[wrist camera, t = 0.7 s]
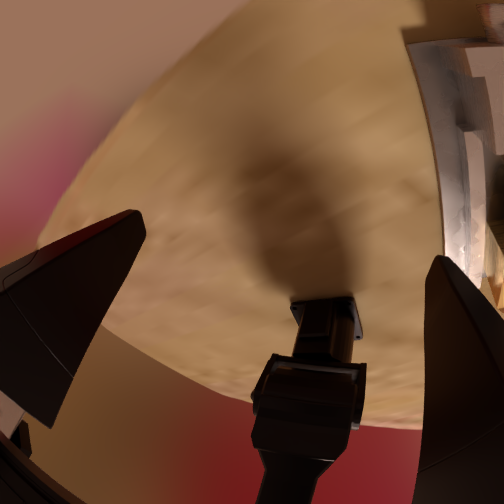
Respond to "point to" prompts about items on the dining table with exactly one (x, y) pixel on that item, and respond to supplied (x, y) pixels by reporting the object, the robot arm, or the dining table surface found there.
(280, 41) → the dining table surface
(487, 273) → the valve
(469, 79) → the grey metal channel
